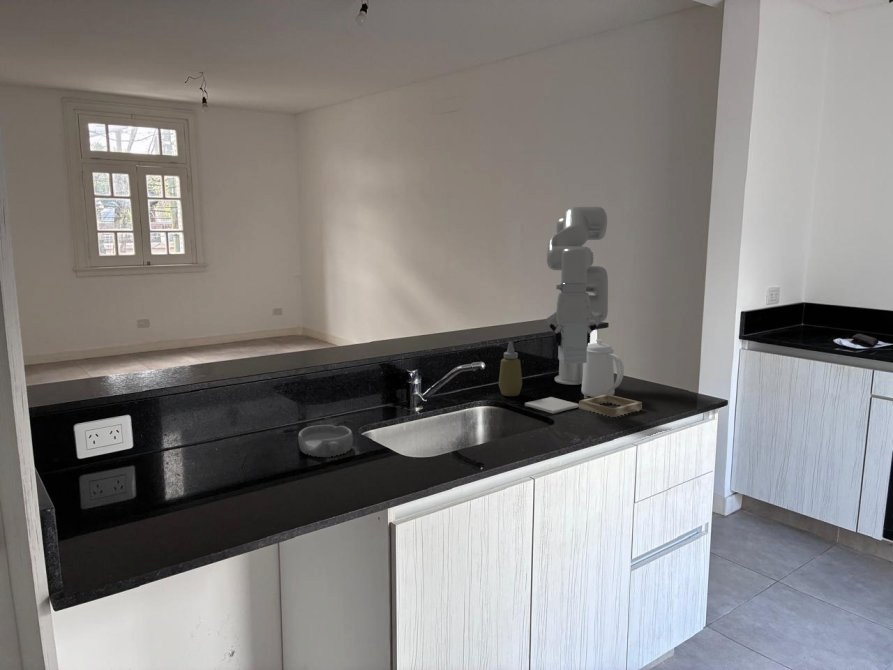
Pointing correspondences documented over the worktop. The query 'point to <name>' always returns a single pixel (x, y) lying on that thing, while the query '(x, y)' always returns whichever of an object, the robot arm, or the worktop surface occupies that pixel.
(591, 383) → the coffeepot
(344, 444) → the dish
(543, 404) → the tile
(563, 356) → the supplement box
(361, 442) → the worktop surface
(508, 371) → the squeeze bottle
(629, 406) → the wooden frame
